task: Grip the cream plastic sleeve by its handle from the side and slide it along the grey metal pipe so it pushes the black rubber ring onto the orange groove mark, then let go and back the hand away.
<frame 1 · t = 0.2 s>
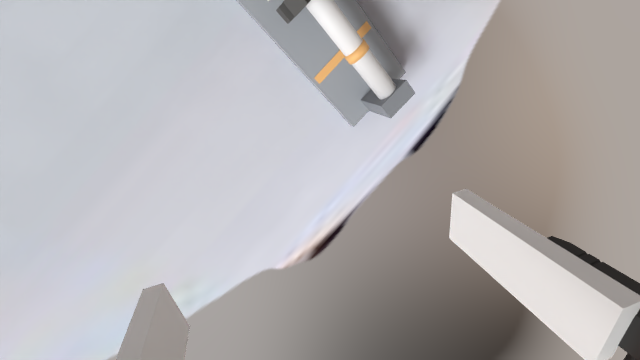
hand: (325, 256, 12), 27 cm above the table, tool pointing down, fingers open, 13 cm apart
pipe stand: (311, 20, 33), on the table
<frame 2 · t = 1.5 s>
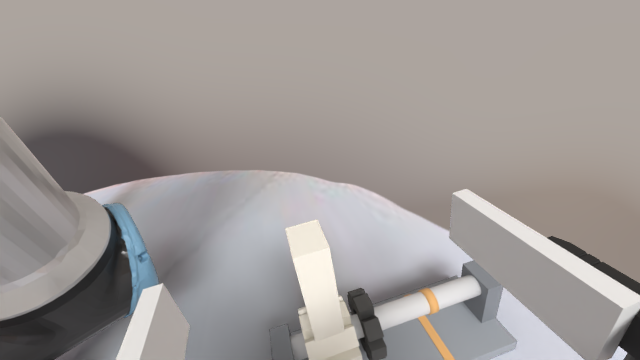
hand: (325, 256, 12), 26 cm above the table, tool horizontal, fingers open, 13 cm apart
sleeve: (321, 304, 27), point 11 cm above the table, slide at 0.0 cm
pipe stand: (389, 346, 34), on the table
ring: (365, 323, 31), point 6 cm above the table, slide at 0.0 cm
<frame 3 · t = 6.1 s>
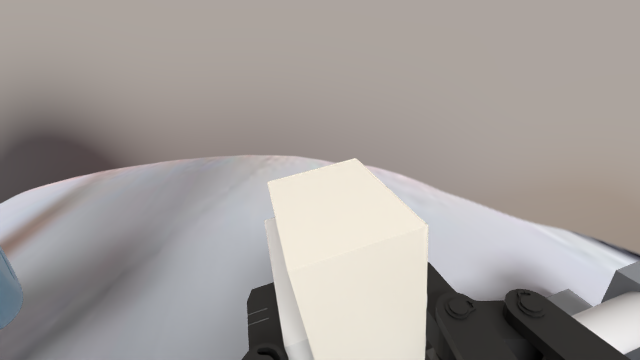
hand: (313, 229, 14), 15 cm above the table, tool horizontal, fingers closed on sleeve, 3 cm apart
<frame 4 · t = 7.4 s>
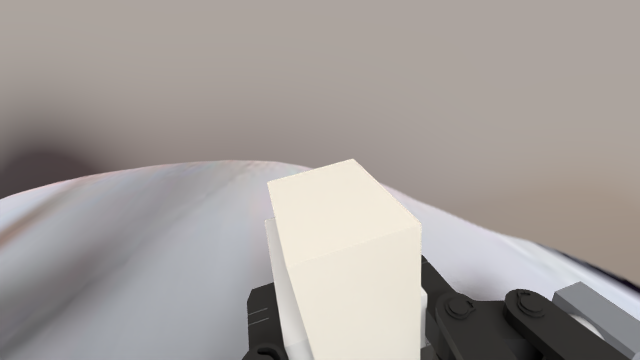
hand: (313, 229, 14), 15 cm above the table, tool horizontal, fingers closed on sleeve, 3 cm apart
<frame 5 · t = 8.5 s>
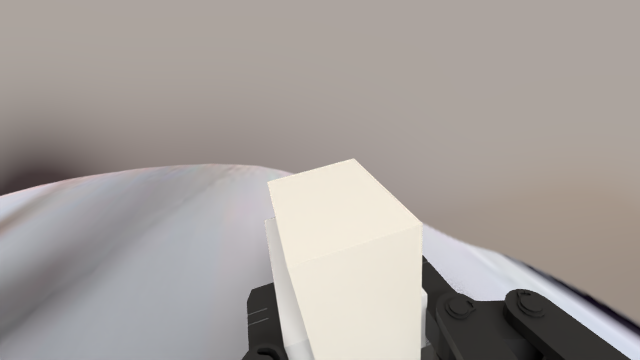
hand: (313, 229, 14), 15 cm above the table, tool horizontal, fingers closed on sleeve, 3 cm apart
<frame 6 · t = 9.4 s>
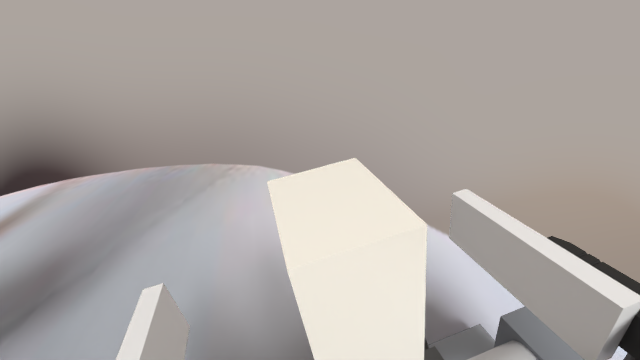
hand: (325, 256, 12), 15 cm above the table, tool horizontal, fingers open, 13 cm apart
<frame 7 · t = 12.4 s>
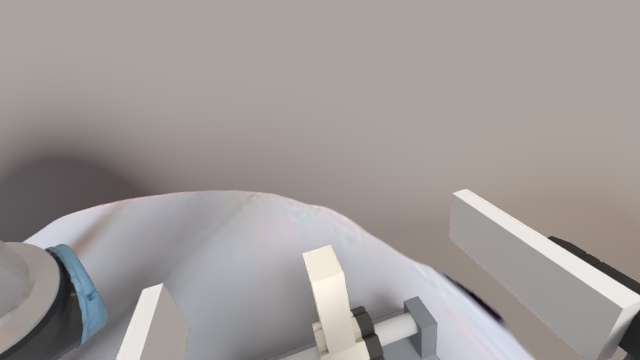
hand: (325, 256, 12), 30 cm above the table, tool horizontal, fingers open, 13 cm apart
sleeve: (334, 321, 30), point 11 cm above the table, slide at 8.7 cm
ring: (366, 339, 33), point 6 cm above the table, slide at 7.7 cm
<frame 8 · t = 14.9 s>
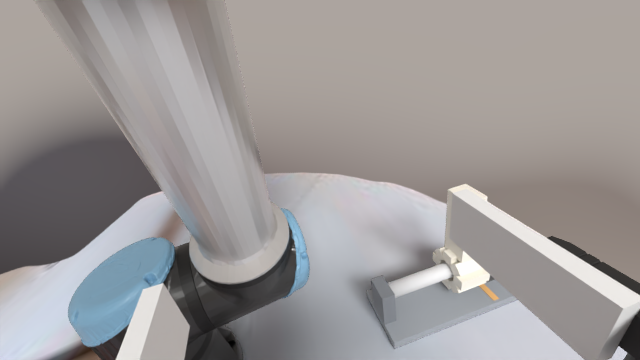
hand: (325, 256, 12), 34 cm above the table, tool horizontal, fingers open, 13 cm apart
sleeve: (462, 240, 43), point 11 cm above the table, slide at 8.7 cm
pipe stand: (448, 293, 48), on the table
ring: (477, 259, 46), point 6 cm above the table, slide at 7.7 cm
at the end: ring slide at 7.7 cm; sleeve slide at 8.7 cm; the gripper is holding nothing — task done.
